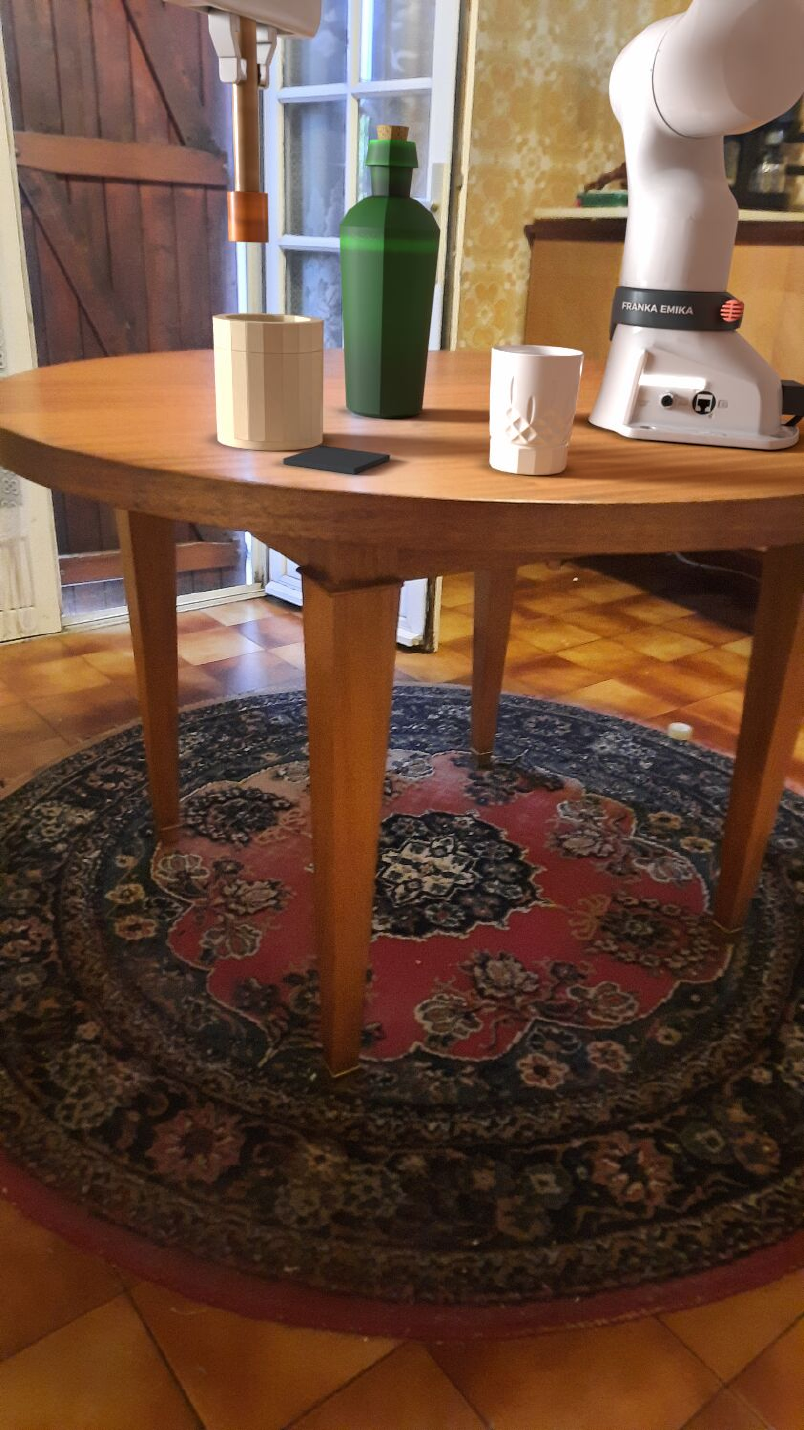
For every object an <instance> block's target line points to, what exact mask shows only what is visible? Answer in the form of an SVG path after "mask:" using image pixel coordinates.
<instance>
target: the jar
mask: <svg viewBox="0 0 804 1430" xmlns="http://www.w3.org/2000/svg"><path fill="white" fill-rule="evenodd" d="M324 323H325V320H323V319H322V318H320V317H315V316H308V315H300V314H299V315H298V314H288V313H287V314H285V313H269V312H268V313H267V312H266V313H265V312H264V313H263V312H239V313H237V312H236V313H235V312H234V313H219V314H216V315H212V324H213V325H212V328H213V329H212V331H213V357H214V381H215V382H214V384H215V386H214V387H215V409H216V410H215V411H216V412H215V413H216V430H217V431H216V432H217V433H216V434H217V441H218V442H219V443H220V444H222V445H224V446H228V447H232V448H236V449H243V450H253V451H271V452H272V451H273V452H277V451H280V452H281V451H282V452H283V451H296V450H304V449H310V448H311V449H312V448H315V447H318V446H320V445H321V444H322V443H323V435H324V355H325V354H324V348H325V347H324V343H325V341H324V333H325V332H324V331H325V329H324V328H325V327H324V326H325V324H324Z"/></svg>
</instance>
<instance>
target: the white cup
mask: <svg viewBox="0 0 804 1430" xmlns="http://www.w3.org/2000/svg"><path fill="white" fill-rule="evenodd" d="M584 358H585V352H584V351H582V350H578V349H575V348H569V347H560V346H549V345H534V344H502V345H495V346H493V347H491V361H490V362H491V364H490V366H491V367H490V387H489V388H490V392H489V436H490V440H489V441H490V442H489V465H490V466H491V467H492V469H495V470H497V471H501V472H505V473H509V474H517V475H527V476H549V475H556V474H560V473H562V472H563V471H565V469H566V466H567V460H568V454H569V453H568V452H569V445H570V444H569V442H570V441H571V437H572V433H573V427H574V419H575V415H576V411H577V404H578V398H579V391H580V385H581V378H582V372H583V366H584Z"/></svg>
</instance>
